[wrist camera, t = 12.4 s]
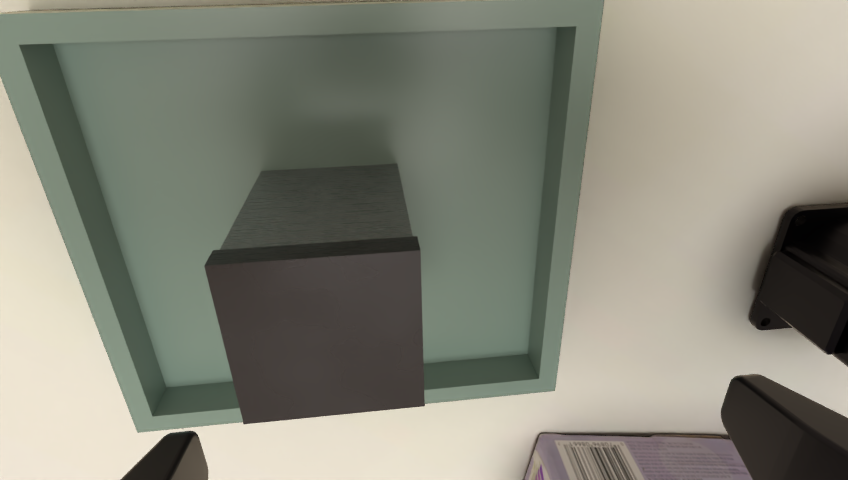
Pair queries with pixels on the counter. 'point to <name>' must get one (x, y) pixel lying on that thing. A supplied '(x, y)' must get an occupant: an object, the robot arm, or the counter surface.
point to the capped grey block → (321, 295)
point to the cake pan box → (635, 458)
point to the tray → (310, 148)
